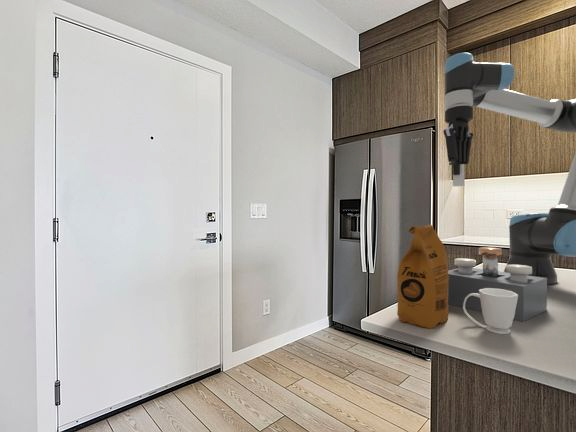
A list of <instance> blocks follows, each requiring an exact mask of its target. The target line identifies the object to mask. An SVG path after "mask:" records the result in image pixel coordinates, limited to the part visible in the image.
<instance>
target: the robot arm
mask: <svg viewBox="0 0 576 432" xmlns="http://www.w3.org/2000/svg"><path fill="white" fill-rule="evenodd" d="M443 75H444V109H445V111H444V123H446V124H447V126H448V127H447V128H445V129H443V132H442V133H443V135H444V138H445V147H446V152H447V153H446V155H447V160H448V162H449V163H448V164H449V165H450V166H452V186H453V187H457V188H458V187H465V165H468V164H469V163H470V154H471V146H472V140H473V137H474V133H473V132H469V124H468V123H469V122H470V121H472V120H473V118H474V107H476V108H479V109H484V110H488V111H491V112H495V113H500V114H503V115H508V116H511V117H514V118H519V119H522V120H525V121H530V122H534V123H537V125H538V126H539V127H541V128H545V129H549V130H554V131H557V132H558V131H559V132H564V133H574V134H575V133H576V98H574V99H568V100H563V99H562V100H561V99H558V98H556V99H555V98H554V99H551V100H550V99H549V100H548V99H545V98H541V97H537V96H533V95H528V94H525V93H520V92H517V91H514V90H509V89H508V88H509V87H510V86H511V84H512V83H513V81H514V78H515V67H514V66H513V64H511V63H509V62H508V63H506V62H501V61H500V62H499V61H498V62H475V61H474V56H473V54H472V53H469V52H459V53H455V54H453V55H451V56H449V58H447V59H446V61H445V64H444V73H443ZM560 194H561V195H560V198H559V200H558V203H557V205H554V206H553V207H550V208H549V211H548V212H539V213H538V212H537V213H524V214H515V215H513V216H511V217H510V219H509V225H508V229H509V258H508V260H507V262H506V265H526V266H531V267H532V274H528V276H535V277H542V278H547V285H551V284H557V283H558V275H557V272H556V269H555V267H554V264H553V262H552V257H551V255H552V254H554V255H560V256H564V257H571V258H572V257H575V258H576V152H575V153H574V156H573V160H572V162H571V164H570V168H569V171H568V173H567V177H566V180H565V182H564V186H563V189H562V191H561V193H560ZM503 272H506V266H505V268H504V270H503ZM506 273H508V272H506Z"/></svg>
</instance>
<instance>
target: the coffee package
mask: <svg viewBox="0 0 576 432" xmlns="http://www.w3.org/2000/svg"><path fill="white" fill-rule="evenodd" d="M408 233H410V234H413V235H414V237H413V238H412V240H411V243H410V244H409V245H410V246H409V249H408V250H407V252H406V253H405V254H404V256H403V257H402V259H401V260H400V263H399V266H398V272H397V275H396V276H397V278H396V279H397V317H398V319H399V321H401V322H402V323H408V324H410V325H412V326H418V327H420V328H426V329H430V330H431V329H434V328H435V327H436V326H437V325H438V324H444V323H446V321H447V319H448V317H450V314H449V303H448V283H449V276H448V270H449V266H448V256H447V252H446V248H445V246H444V244H443V241H442V240H441V239H440V237H439V235H438V233H437V232H436V230H435V229H434V227H433V225H432V224H431V223H429V224H426V225H425V226H414V225H412V226H410V228H409V229H408Z"/></svg>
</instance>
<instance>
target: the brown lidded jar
mask: <svg viewBox="0 0 576 432" xmlns="http://www.w3.org/2000/svg"><path fill="white" fill-rule="evenodd" d="M478 254H479V255H481V256H482V269H483V276H487V277H493V278H498V271H499V257H500V256H503V248H499V247H479V248H478Z"/></svg>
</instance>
